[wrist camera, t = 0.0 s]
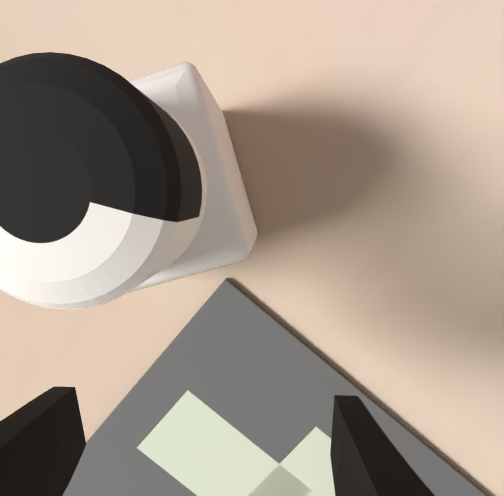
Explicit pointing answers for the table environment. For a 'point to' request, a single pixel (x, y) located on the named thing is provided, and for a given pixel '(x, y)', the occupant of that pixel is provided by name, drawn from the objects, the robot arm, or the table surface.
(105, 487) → the mat
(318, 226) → the table surface
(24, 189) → the medicine bottle
